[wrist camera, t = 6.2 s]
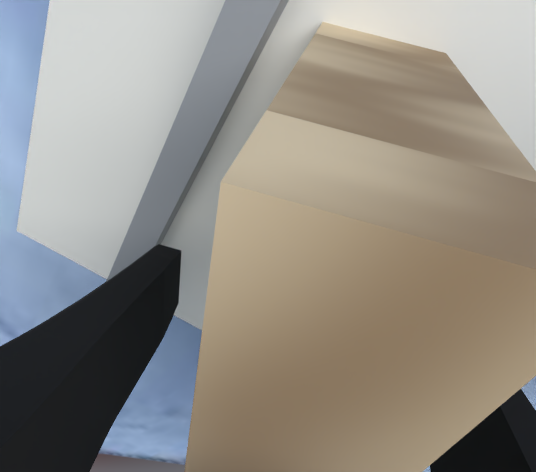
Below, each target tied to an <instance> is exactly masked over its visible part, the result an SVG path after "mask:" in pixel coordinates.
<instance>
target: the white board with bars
mask: <svg viewBox="0 0 536 472" xmlns="http://www.w3.org/2000/svg"><path fill="white" fill-rule="evenodd" d="M322 22H325V23H329V24H333V25H337V26H341V27H345V28H349V29H353V30H357V31H361V32H365V33H369V34H373V35H377V36H381V37H384V38H388V39H392V40H396V41H400V42H404V43H408V44H412V45H416V46H420V47H424V48H428V49H432V50H436V51H440V52H444V53H446V54H447V55H448V56H449V58H450V59H451V60H452V62H453V63H454V64H455V65H456V67H457V68H458V69H459V71H460V72H461V73H462V75H463V76H464V77H465V79H466V80H467V81H468V83H469V84H470V85H471V87H472V88H473V89H474V91H475V92H476V93H477V94H478V96H479V97H480V98H481V100H482V101H483V102H484V104H485V105H486V106H487V108H488V109H489V110H490V112H491V113H492V114H493V116H494V117H495V118H496V120H497V121H498V122H499V123H500V125H501V126H502V127H503V129H504V130H505V131H506V133H507V134H508V135H509V137H510V138H511V139H512V141H513V142H514V143H515V145H516V146H517V147H518V149H519V150H520V151H521V152H522V154H523V155H524V156H525V158H526V159H527V160H528V162H529V163H530V164H531V166H532V167H533V168H534V170H535V171H536V0H50V2H49V9H48V16H47V23H46V30H45V37H44V44H43V51H42V58H41V65H40V72H39V79H38V86H37V93H36V100H35V107H34V114H33V121H32V127H31V134H30V141H29V148H28V155H27V162H26V169H25V176H24V183H23V190H22V197H21V204H20V211H19V218H18V225H17V231H18V232H20V233H22V234H23V235H25V236H27V237H29V238H31V239H33V240H35V241H36V242H38V243H40V244H42V245H44V246H46V247H48V248H49V249H51V250H53V251H55V252H57V253H59V254H61V255H63V256H64V257H66V258H68V259H70V260H72V261H74V262H76V263H77V264H79V265H81V266H83V267H85V268H87V269H89V270H90V271H92V272H94V273H96V274H98V275H100V276H102V277H103V278H105V279H107V281H108V280H109V279H111V278H112V277H114V276H115V275H116V274H118V273H119V272H121V271H122V270H123V269H125V268H126V267H128V266H129V265H130V264H132V263H133V262H134V261H136V260H137V259H138V258H140V257H141V256H142V255H144V254H145V253H146V252H148V251H149V250H150V249H152V248H153V247H154V246H156V245H158V244H160V245H164V246H167V247H171V248H174V249H178V250H181V268H180V286H179V303H178V306H177V308H176V310H175V312H174V316H176V317H178V318H180V319H181V320H183V321H185V322H187V323H189V324H191V325H193V326H194V327H196V328H198V329H200V330H202V328H203V320H204V312H205V304H206V296H207V288H208V280H209V272H210V264H211V256H212V248H213V240H214V232H215V224H216V216H217V208H218V200H219V192H220V184H221V181H222V179H223V177H224V176H225V174H226V173H227V171H228V170H229V168H230V166H231V165H232V163H233V162H234V160H235V159H236V157H237V156H238V154H239V152H240V151H241V149H242V148H243V146H244V145H245V143H246V141H247V140H248V138H249V137H250V135H251V134H252V132H253V130H254V129H255V127H256V126H257V124H258V123H259V121H260V119H261V118H262V116H263V115H264V113H265V112H266V110H267V108H268V107H269V105H270V104H271V102H272V101H273V99H274V97H275V96H276V94H277V93H278V91H279V90H280V88H281V86H282V85H283V83H284V82H285V80H286V79H287V77H288V76H289V74H290V72H291V71H292V69H293V68H294V66H295V65H296V63H297V61H298V60H299V58H300V57H301V55H302V54H303V52H304V50H305V49H306V47H307V46H308V44H309V43H310V41H311V39H312V38H313V36H314V35H315V33H316V32H317V30H318V28H319V27H320V25H321V24H322ZM107 281H106V282H107Z"/></svg>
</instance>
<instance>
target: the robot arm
mask: <svg viewBox="0 0 536 472" xmlns="http://www.w3.org/2000/svg"><path fill="white" fill-rule="evenodd" d="M180 268H181V250H178V249H174V248H171V247H167V246H164V245H160V244H158V245H156V246H154V247H153V248H152V249H150V250H149V251H148V252H146V253H145V254H144V255H142V256H141V257H140V258H138V259H137V260H136V261H134V262H133V263H132V264H130V265H129V266H128V267H126V268H125V269H123V270H122V271H121V272H119V273H118V274H116V275H115V276H114V277H112V278H111V279H109V280H108V281H107V282H105V283H104V284H102V285H101V286H99V287H98V288H96V289H95V290H93V291H92V292H90V293H89V294H88V295H86V296H85V297H83V298H82V299H80V300H79V301H77V302H75V303H74V304H72V305H71V306H69V307H67V308H66V309H64V310H63V311H61V312H59V313H58V314H56V315H54V316H53V317H51V318H50V319H48V320H46V321H45V322H43V323H41V324H40V325H38V326H36V327H35V328H33V329H31V330H29V331H28V332H26V333H24V334H22V335H20V336H19V337H17V338H15V339H13V340H11V341H9V342H8V343H6V344H4V345H2V346H0V472H89V471H90V469H91V467H92V465H93V463H94V461H95V459H96V457H97V455H98V453H99V450H100V448H101V446H102V444H103V442H104V440H105V438H106V436H107V434H108V432H109V430H110V428H111V426H112V425H113V423H114V421H115V419H116V417H117V415H118V414H119V412H120V410H121V409H122V407H123V405H124V404H125V402H126V400H127V398H128V397H129V395H130V393H131V392H132V390H133V388H134V387H135V385H136V383H137V382H138V380H139V378H140V376H141V375H142V373H143V371H144V370H145V368H146V366H147V365H148V363H149V361H150V360H151V358H152V356H153V354H154V353H155V351H156V349H157V348H158V346H159V344H160V342H161V341H162V339H163V337H164V335H165V333H166V330H167V328H168V326H169V324H170V322H171V319H172V317H173V315H174V312H175V310H176V308H177V306H178V303H179V286H180ZM430 469H431V472H536V410H535V409H534V408H533V406H532V405H531V403H530V402H529V400H528V399H527V397H526V396H525V394H524V393H523V391H522V390H521V389H520V390H518V391H517V392H516V393H515V394H514V395H512V396H511V397H510V398H509V399H508V400H506V401H505V402H504V403H503V404H502V405H501V406H499V407H498V408H497V409H496V410H495V411H493V412H492V413H491V414H490V415H489V416H488V417H486V418H485V419H484V420H483V421H482V422H480V423H479V424H478V425H477V426H476V427H475V428H473V429H472V430H471V431H470V432H469V433H467V434H466V435H465V436H464V437H463V438H461V439H460V440H459V441H458V442H457V443H456V444H454V445H453V446H452V447H451V448H450V449H448V450H447V451H446V452H445V453H444V454H443V455H441V456H440V457H439V458H438V459H437V460H435V461H434V462H433V463H432V464H431V465H430Z"/></svg>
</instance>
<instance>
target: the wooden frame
mask: <svg viewBox="0 0 536 472" xmlns="http://www.w3.org/2000/svg"><path fill="white" fill-rule="evenodd" d="M535 376H536V171H535V170H534V168H533V167H532V166H531V164H530V163H529V162H528V160H527V159H526V158H525V156H524V155H523V154H522V152H521V151H520V150H519V149H518V147H517V146H516V145H515V143H514V142H513V141H512V139H511V138H510V137H509V135H508V134H507V133H506V131H505V130H504V129H503V127H502V126H501V125H500V123H499V122H498V121H497V120H496V118H495V117H494V116H493V114H492V113H491V112H490V110H489V109H488V108H487V106H486V105H485V104H484V102H483V101H482V100H481V98H480V97H479V96H478V94H477V93H476V92H475V91H474V89H473V88H472V87H471V85H470V84H469V83H468V81H467V80H466V79H465V77H464V76H463V75H462V73H461V72H460V71H459V69H458V68H457V67H456V65H455V64H454V63H453V62H452V60H451V59H450V58H449V56H448V55H447V54H446V53H444V52H440V51H436V50H432V49H428V48H424V47H420V46H416V45H412V44H408V43H404V42H400V41H396V40H392V39H388V38H384V37H381V36H377V35H373V34H369V33H365V32H361V31H357V30H353V29H349V28H345V27H341V26H337V25H333V24H329V23H325V22H322V24H321V25H320V27H319V28H318V30H317V32H316V33H315V35H314V36H313V38H312V39H311V41H310V43H309V44H308V46H307V47H306V49H305V50H304V52H303V54H302V55H301V57H300V58H299V60H298V61H297V63H296V65H295V66H294V68H293V69H292V71H291V72H290V74H289V76H288V77H287V79H286V80H285V82H284V83H283V85H282V86H281V88H280V90H279V91H278V93H277V94H276V96H275V97H274V99H273V101H272V102H271V104H270V105H269V107H268V108H267V110H266V112H265V113H264V115H263V116H262V118H261V119H260V121H259V123H258V124H257V126H256V127H255V129H254V130H253V132H252V134H251V135H250V137H249V138H248V140H247V141H246V143H245V145H244V146H243V148H242V149H241V151H240V152H239V154H238V156H237V157H236V159H235V160H234V162H233V163H232V165H231V166H230V168H229V170H228V171H227V173H226V174H225V176H224V177H223V179H222V181H221V184H220V192H219V200H218V208H217V216H216V224H215V232H214V240H213V248H212V256H211V264H210V272H209V280H208V288H207V296H206V304H205V312H204V320H203V328H202V336H201V344H200V352H199V360H198V367H197V375H196V383H195V391H194V399H193V407H192V415H191V423H190V431H189V439H188V447H187V455H186V463H185V471H184V472H422V471H424V470H425V469H426V468H427V467H428V466H430V465H431V464H432V463H433V462H434V461H435V460H437V459H438V458H439V457H440V456H441V455H443V454H444V453H445V452H446V451H447V450H448V449H450V448H451V447H452V446H453V445H454V444H456V443H457V442H458V441H459V440H460V439H461V438H463V437H464V436H465V435H466V434H467V433H469V432H470V431H471V430H472V429H473V428H475V427H476V426H477V425H478V424H479V423H480V422H482V421H483V420H484V419H485V418H486V417H488V416H489V415H490V414H491V413H492V412H493V411H495V410H496V409H497V408H498V407H499V406H501V405H502V404H503V403H504V402H505V401H506V400H508V399H509V398H510V397H511V396H512V395H514V394H515V393H516V392H517V391H518V390H520V389H521V388H522V387H523V386H524V385H525V384H527V383H528V382H529V381H530V380H531V379H533V378H534V377H535Z"/></svg>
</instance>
